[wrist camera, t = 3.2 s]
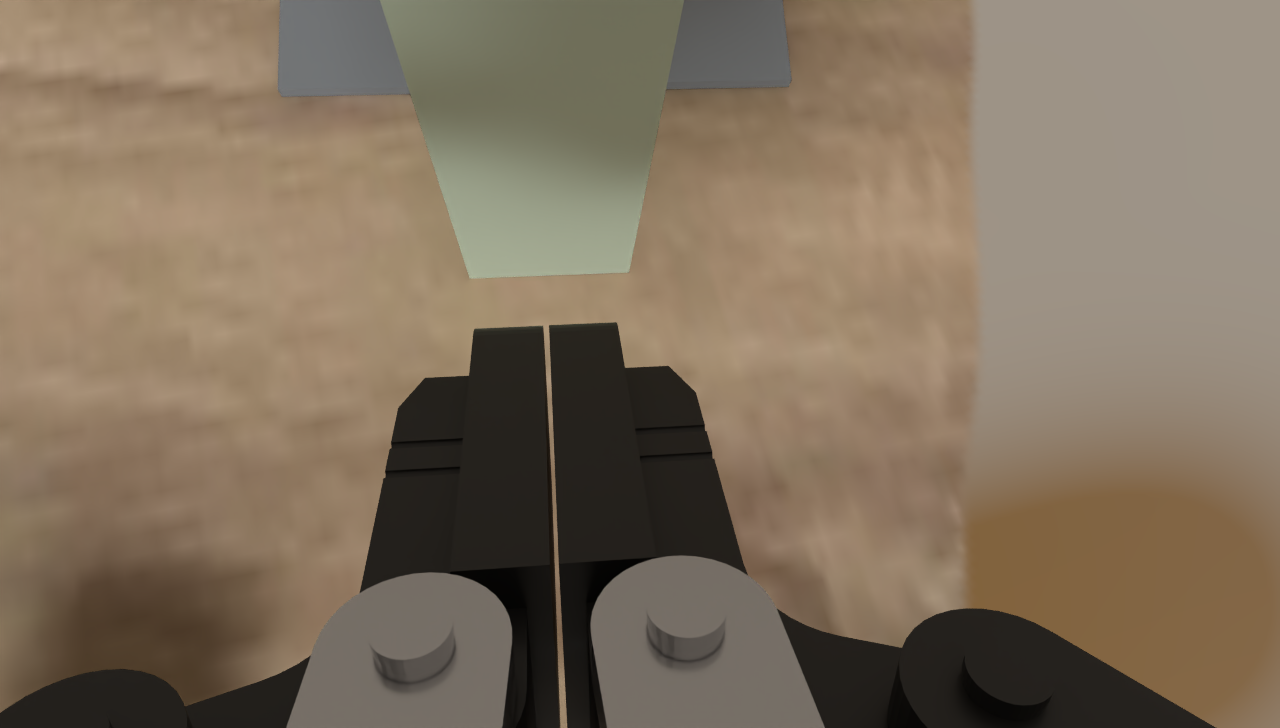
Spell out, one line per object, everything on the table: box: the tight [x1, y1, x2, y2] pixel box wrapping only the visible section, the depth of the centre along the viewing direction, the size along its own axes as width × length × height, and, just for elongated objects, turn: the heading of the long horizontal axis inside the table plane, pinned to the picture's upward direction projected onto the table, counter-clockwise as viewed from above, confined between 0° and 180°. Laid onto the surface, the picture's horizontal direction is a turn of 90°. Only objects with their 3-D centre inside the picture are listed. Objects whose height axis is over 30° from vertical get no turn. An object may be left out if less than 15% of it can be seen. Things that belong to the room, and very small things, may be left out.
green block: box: [380, 0, 684, 278], centre depth 20 cm, size 4×4×13 cm
